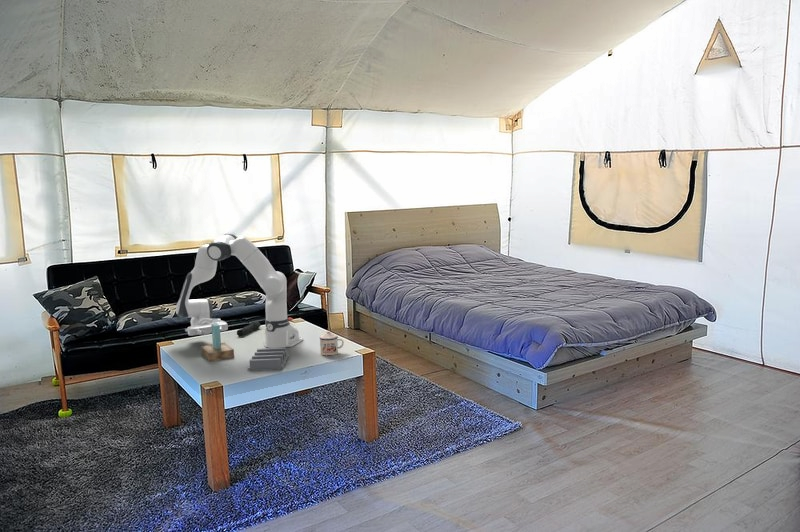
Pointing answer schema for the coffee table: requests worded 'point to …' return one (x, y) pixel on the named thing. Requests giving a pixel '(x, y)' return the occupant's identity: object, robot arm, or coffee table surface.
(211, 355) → the block
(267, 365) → the slotted rack
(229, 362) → the coffee table surface
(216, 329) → the aqua rubber eraser
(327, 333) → the teacup with lid
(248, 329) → the flashlight
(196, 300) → the robot arm
